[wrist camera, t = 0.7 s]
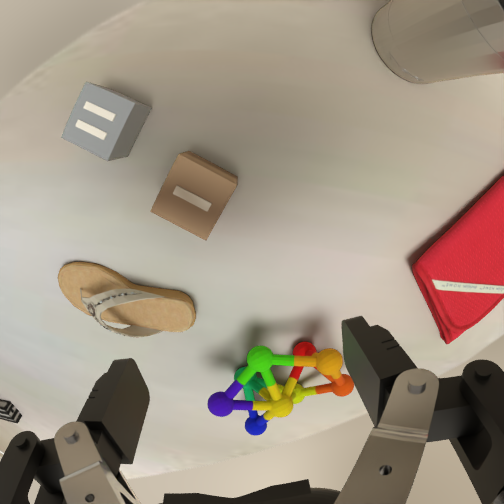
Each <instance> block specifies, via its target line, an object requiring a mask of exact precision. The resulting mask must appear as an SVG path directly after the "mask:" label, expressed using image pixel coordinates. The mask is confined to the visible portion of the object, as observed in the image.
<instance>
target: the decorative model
mask: <svg viewBox="0 0 504 504" xmlns="http://www.w3.org/2000/svg"><path fill="white" fill-rule="evenodd" d="M247 363H248V366H247V367H242V368H239V369H238V370H237V371H236V373H235V375H234V380H235V381H234V382H233V383H232V384H231V386H230V387H229V388H228V389H227V390H226V391H225V392H216V393H214V394H213V395H211V396H210V398H209V399H208V409H209V411H210V412H211V413H212V414H214V415H216V416H220V417H223V416H227V415H229V414H230V413H231V412H232V410H248V412H249V418H248V419H247V420H246V422H245V429H246V431H247V432H248V433H249V434H251V435H260V434H262V433H263V432H264V431H265V430H266V428H267V423H266V422H268V421H269V420H270V419H272V418H273V417H274V416H275V417H285V416H287V415H289V414H290V413H291V411H292V409H293V404H297V403H299V402H301V401H302V400H303V399H304V397H305V396H309V395H316V394H322V393H327V392H333V393H334V394H335V395H337V396H346V395H348V394H349V393H351V392H352V390H353V388H354V382H353V380H352V378H351V377H350V376H349V375H346V374H341V372H340V369H341V367H342V364H343V360H342V356H341V354H340V353H339V352H338V351H337V350H335V349H332V348H328V349H324V350H322V351H321V352H320V353H317V352H316V349H315V347H314V345H313V344H311V343H310V342H301V343H299V344H297V345H296V346H295V348H294V349H293V355H275V354H273V353H272V351H271V350H270V349H269V348H267V347H265V346H256V347H254V348H252V349H251V350H250V351H249V353H248V355H247ZM272 365H283V366H294V367H293V369H292V371H291V373H290V376H289V378H288V380H287V382H286V384H285V386H282V385H279V384H277V383H276V381H275V379H274V376H273V374H272V372H271V369H270V368H271V366H272ZM304 366H306V367H314V368H315V369H317V370H318V371H319V372H320V373H321V374H322V375H324V376H325V377H326V378H327V379H328V380H330V381H331V382H332V383H329V384H324V385H319V386H313V387H308V388H303V387H302V386H301V385H299V384H296V383H297V381H298V378H299V376H300V374H301V372H302V369H303V367H304ZM256 372H261V375H262V377H263V379H261V378H258V377H257V374H256ZM242 388H243V389H244V394H245V399H246V400H233V398H234V397H235V396H236V395H237V393H238V392H239V391H240V390H241V389H242ZM253 390H254V391H256V392H257V393H258V394H259V395H260V396H262V397H263V398H264V399H265V400H266V401H255V398H254V394H253ZM257 410H268V411H266V412H265V413H264V414H263V415H261V416H259V415H258V413H257Z"/></svg>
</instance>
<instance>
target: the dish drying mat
mask: <svg viewBox="0 0 504 504" xmlns="http://www.w3.org/2000/svg"><path fill="white" fill-rule="evenodd" d="M412 271H413V274H414V277H415V279H416V281H417V284H418V286H419V288H420V290H421V292H422V294H423V296H424V298H425V301H426V302H427V305H428V306H429V309H430V311H431V313H432V315H433V317H434V320H435V322H436V324H437V327H438V329H439V331H440V337H441V338H442V339H443V340H444V342H445V343H446V344H449V343H450V342H452V341H453V340H455V339H456V338H457V337H458V336H460V335H461V334H462V333H463V332H464V331H466V330H467V329H469V328H471V327H472V326H474V325H475V324H476V323H478V322H479V321H480V320H481V319H482V318H484V317H485V316H486V315H487V314H488V313H489V312H490V311H491V310H492V309H493V308H494V307H495V306H496V305H497V304H498V303H499V302H500V301H501V300H502V299H503V298H504V175H503V176H502V177H501V178H500V179H499V180H498V181H497V182H496V183H495V184H494V185H493V186H492V187H491V188H490V189H489V190H488V191H487V192H486V193H485V194H484V195H483V196H482V197H481V198H480V199H479V200H478V201H477V202H476V203H475V204H474V205H473V206H472V207H471V208H470V209H469V210H468V211H467V212H466V213H465V214H464V215H463V216H462V217H461V218H460V219H459V220H458V221H457V222H456V223H455V224H454V225H453V226H452V227H451V228H450V229H449V230H448V231H447V232H446V233H445V234H444V235H443V236H442V237H440V238H439V239H438V240H437V241H436V242H435V243H434V244H433V245H432V246H431V247H430V248H429V249H428V250H427V251H426V252H425V253H424V254H423V255H422V256H421V257H420V258H419V259H418V261H417V262H416V263H415V264H413V265H412Z"/></svg>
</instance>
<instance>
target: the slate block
mask: <svg viewBox="0 0 504 504" xmlns="http://www.w3.org/2000/svg"><path fill="white" fill-rule="evenodd" d="M151 109H152V108H151V107H149V106H147V105H145V104H143V103H140V102H138V101H136V100H134V99H132V98H129V97H127V96H125V95H123V94H121V93H118V92H116V91H114V90H111V89H109V88H106V87H103V86H99V85H96V84H92V83H89V82H86V83H85V85H84V87H83V89H82V91H81V93H80V95H79V97H78V99H77V101H76V104H75V106H74V108H73V110H72V113H71V115H70V117H69V120H68V122H67V124H66V127H65V129H64V132H63V134H62V137H61V138H63V139H65V140H67V141H69V142H71V143H73V144H75V145H77V146H79V147H81V148H83V149H85V150H87V151H89V152H91V153H93V154H95V155H96V156H98V157H100V158H102V159H104V160H106V161H110V160H114V159H119V158H123V157H127V156H128V155H129V153H130V151H131V149H132V146H133V144H134V142H135V140H136V138H137V136H138V134H139V132H140V130H141V128H142V126H143V124H144V122H145V120H146V118H147V116H148V115H149V113H150V111H151Z"/></svg>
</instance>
